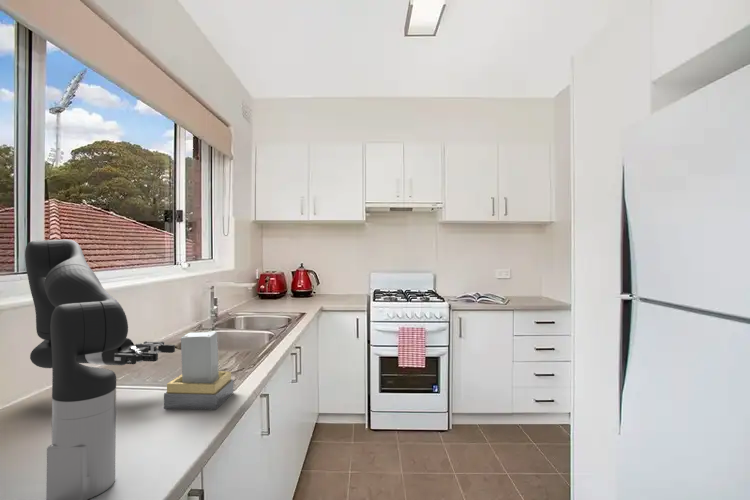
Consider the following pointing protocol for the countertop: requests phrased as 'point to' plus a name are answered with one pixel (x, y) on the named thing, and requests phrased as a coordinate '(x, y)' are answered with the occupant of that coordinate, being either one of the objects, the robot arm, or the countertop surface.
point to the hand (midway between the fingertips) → (166, 352)
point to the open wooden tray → (198, 393)
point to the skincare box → (199, 357)
